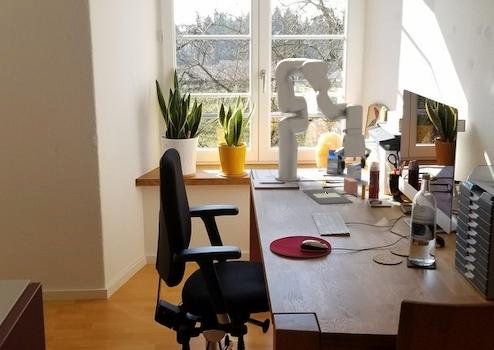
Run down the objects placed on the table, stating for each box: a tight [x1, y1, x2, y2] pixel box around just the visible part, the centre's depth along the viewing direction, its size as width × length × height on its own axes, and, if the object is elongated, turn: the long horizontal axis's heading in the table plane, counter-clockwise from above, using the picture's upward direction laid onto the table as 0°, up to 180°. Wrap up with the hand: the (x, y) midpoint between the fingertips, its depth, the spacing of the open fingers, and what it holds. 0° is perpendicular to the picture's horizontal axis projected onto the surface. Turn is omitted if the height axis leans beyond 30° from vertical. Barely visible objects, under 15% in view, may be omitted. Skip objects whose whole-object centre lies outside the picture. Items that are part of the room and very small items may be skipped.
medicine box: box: [346, 162, 363, 182], centre depth 290 cm, size 8×4×9 cm, turn 143°
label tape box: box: [326, 149, 345, 175], centre depth 306 cm, size 9×4×12 cm, turn 73°
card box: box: [343, 177, 359, 195], centre depth 267 cm, size 7×4×6 cm, turn 13°
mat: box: [302, 188, 354, 205], centre depth 259 cm, size 24×15×1 cm, turn 13°
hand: (352, 168), depth 265 cm, fingers open, 9 cm apart
